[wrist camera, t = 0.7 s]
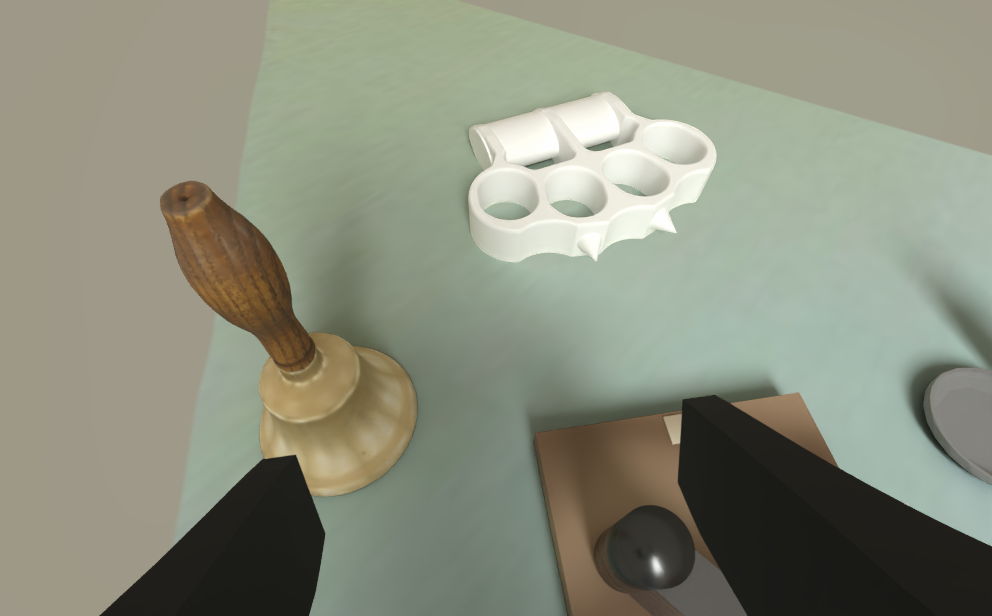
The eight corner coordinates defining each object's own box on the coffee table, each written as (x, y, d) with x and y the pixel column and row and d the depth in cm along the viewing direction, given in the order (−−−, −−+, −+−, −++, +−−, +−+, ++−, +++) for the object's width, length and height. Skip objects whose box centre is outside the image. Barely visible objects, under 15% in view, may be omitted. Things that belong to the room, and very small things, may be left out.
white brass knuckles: (629, 107, 41) (740, 224, 34) (431, 162, 37) (507, 308, 30) (640, 69, 38) (762, 188, 31) (425, 124, 34) (508, 275, 27)
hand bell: (331, 325, 29) (189, 73, 15) (447, 389, 27) (399, 161, 13) (226, 443, 25) (-87, 245, 11) (351, 531, 23) (144, 412, 9)
